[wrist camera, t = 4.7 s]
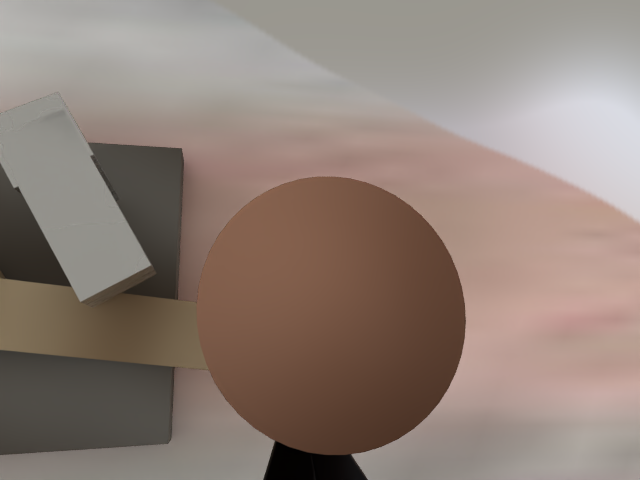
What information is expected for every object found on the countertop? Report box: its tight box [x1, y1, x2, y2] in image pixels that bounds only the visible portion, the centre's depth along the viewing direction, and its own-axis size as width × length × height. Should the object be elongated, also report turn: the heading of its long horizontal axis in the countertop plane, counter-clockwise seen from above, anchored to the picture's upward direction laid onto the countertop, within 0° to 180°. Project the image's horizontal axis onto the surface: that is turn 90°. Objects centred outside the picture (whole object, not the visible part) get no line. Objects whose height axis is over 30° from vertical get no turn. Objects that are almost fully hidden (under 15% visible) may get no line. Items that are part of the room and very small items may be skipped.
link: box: [0, 177, 466, 455], centre depth 9 cm, size 12×4×10 cm, turn 84°
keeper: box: [0, 92, 157, 308], centre depth 12 cm, size 6×7×6 cm
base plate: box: [0, 143, 184, 455], centre depth 14 cm, size 10×9×1 cm
